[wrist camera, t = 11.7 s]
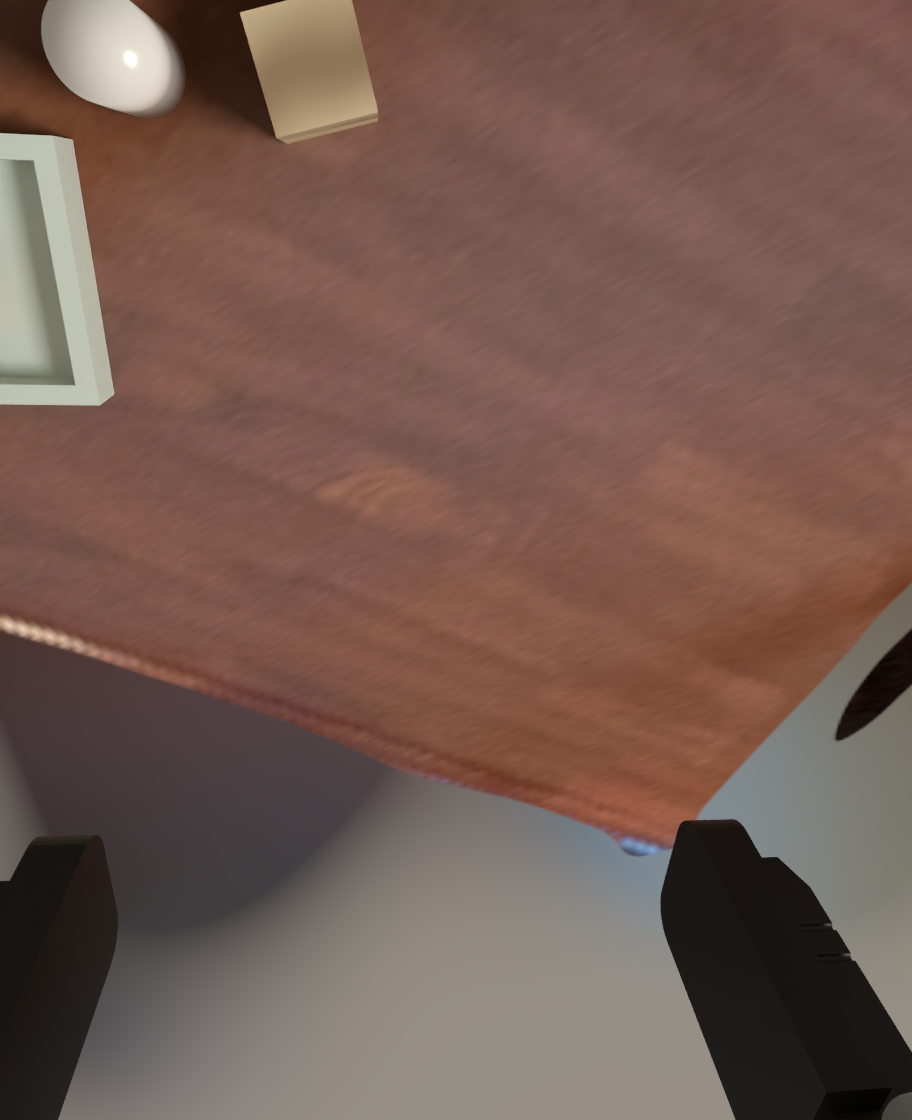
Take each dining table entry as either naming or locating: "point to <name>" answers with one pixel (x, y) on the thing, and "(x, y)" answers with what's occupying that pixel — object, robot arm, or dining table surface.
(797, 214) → the dining table surface
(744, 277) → the dining table surface
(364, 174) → the dining table surface
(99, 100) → the ceramic shaker
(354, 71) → the oak cube
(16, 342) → the tray
